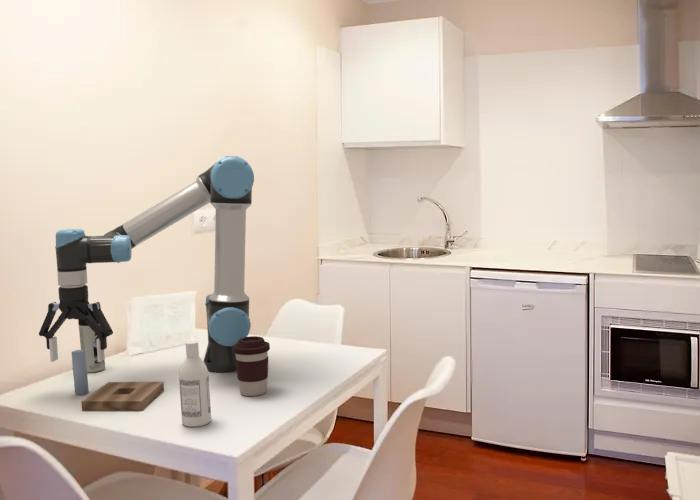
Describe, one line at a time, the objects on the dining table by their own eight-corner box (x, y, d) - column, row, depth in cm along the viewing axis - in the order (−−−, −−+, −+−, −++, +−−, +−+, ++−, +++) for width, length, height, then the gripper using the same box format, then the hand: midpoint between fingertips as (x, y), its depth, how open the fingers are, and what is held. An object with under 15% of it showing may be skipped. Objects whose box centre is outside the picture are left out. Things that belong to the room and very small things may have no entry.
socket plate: (164, 390, 190) (163, 381, 190) (141, 410, 174) (141, 401, 174) (109, 390, 192) (108, 382, 191) (82, 410, 176) (81, 401, 176)
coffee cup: (231, 390, 189) (228, 337, 187) (265, 384, 192) (263, 333, 191) (240, 400, 179) (237, 345, 178) (276, 394, 183) (273, 340, 182)
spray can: (97, 373, 209) (92, 309, 206) (77, 373, 210) (72, 309, 208) (109, 367, 215) (104, 305, 213) (90, 366, 217) (85, 305, 214)
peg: (91, 391, 192) (87, 349, 190) (85, 395, 188) (81, 353, 187) (78, 391, 192) (75, 349, 191) (72, 395, 189) (69, 353, 187)
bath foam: (199, 415, 170) (194, 337, 167) (217, 421, 165) (212, 340, 163) (176, 423, 165) (171, 343, 162) (193, 429, 160) (188, 347, 158)
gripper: (122, 283, 189) (126, 357, 192) (37, 283, 191) (42, 356, 194) (110, 287, 182) (115, 364, 184) (22, 287, 184) (27, 364, 186)
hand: (77, 360), depth 189 cm, fingers open, 13 cm apart
